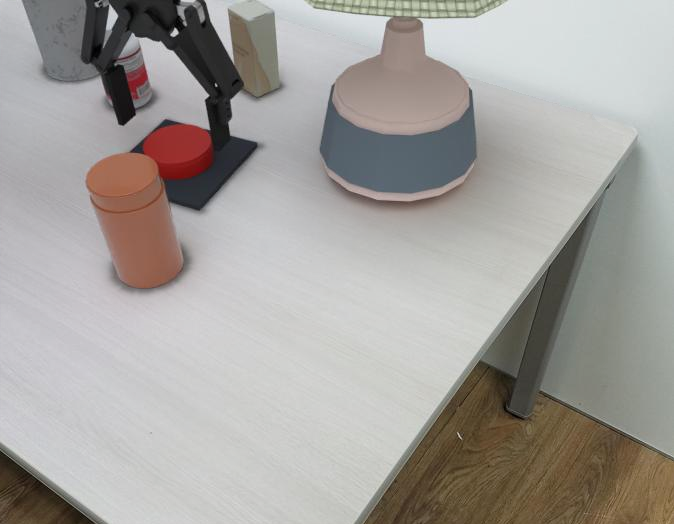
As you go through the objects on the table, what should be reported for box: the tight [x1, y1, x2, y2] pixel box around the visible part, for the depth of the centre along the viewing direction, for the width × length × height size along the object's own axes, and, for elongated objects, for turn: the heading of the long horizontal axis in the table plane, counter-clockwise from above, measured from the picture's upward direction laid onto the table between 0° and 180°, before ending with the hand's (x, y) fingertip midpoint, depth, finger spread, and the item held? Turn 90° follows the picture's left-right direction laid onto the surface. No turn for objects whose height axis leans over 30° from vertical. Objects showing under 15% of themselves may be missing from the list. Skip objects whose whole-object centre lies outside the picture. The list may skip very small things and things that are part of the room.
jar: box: [84, 152, 185, 289], centre depth 71 cm, size 7×7×12 cm
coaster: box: [128, 118, 258, 211], centre depth 88 cm, size 14×14×1 cm
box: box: [226, 0, 281, 98], centre depth 95 cm, size 5×4×11 cm
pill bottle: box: [99, 12, 153, 109], centre depth 94 cm, size 6×6×11 cm
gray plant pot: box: [21, 0, 100, 82], centre depth 100 cm, size 10×10×12 cm
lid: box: [143, 123, 214, 180], centre depth 86 cm, size 8×8×2 cm
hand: (174, 132), depth 84 cm, fingers open, 13 cm apart
